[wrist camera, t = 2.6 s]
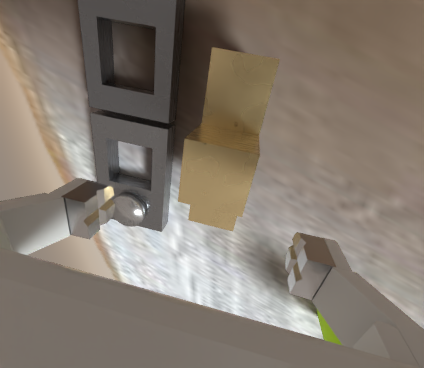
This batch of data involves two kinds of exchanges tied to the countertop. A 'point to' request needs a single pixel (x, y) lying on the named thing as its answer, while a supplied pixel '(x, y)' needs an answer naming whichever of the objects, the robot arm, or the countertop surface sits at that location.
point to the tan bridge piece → (226, 138)
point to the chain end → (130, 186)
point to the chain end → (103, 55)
